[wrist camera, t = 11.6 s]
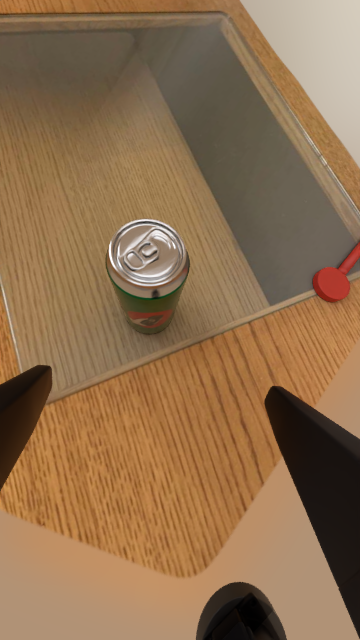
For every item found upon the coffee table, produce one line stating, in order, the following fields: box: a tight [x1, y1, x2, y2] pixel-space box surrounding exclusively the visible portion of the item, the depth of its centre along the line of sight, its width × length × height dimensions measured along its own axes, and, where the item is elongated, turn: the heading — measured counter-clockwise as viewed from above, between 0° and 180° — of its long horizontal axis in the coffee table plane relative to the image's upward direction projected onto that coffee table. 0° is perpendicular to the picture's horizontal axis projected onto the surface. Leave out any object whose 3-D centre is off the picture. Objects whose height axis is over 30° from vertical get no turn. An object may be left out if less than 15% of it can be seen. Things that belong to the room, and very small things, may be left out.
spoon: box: [313, 242, 360, 302], centre depth 28 cm, size 14×4×1 cm, turn 136°
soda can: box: [106, 218, 190, 334], centre depth 18 cm, size 5×5×12 cm
